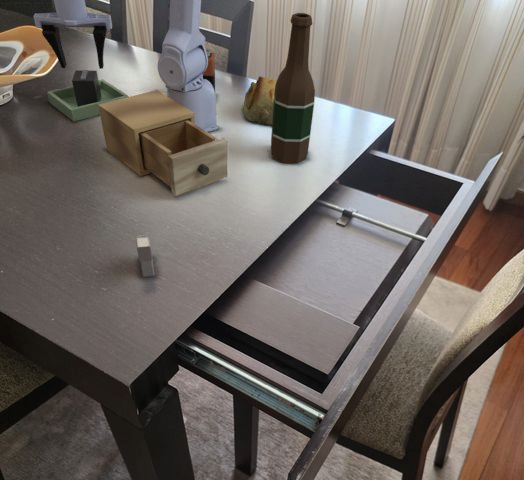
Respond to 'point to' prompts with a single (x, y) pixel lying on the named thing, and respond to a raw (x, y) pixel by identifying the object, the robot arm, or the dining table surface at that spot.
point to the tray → (68, 105)
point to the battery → (210, 69)
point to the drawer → (184, 155)
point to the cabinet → (137, 123)
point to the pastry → (260, 101)
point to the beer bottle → (294, 97)
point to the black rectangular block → (86, 87)
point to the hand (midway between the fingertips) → (82, 66)
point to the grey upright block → (145, 255)
